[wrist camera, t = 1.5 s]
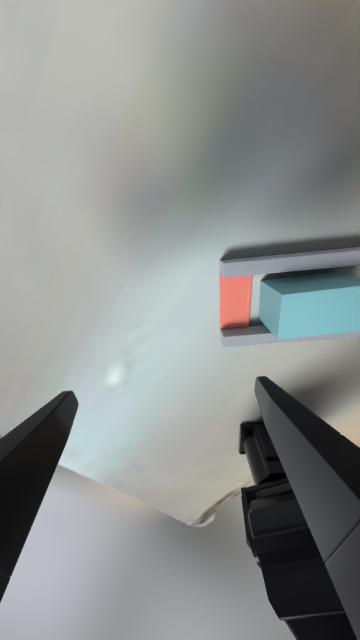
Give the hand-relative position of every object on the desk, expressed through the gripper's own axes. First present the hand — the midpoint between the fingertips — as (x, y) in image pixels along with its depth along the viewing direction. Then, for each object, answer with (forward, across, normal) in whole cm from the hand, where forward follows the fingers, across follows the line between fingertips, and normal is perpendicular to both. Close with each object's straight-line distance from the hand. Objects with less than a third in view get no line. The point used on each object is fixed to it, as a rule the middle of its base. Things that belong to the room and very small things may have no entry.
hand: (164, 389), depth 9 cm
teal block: (+11, -12, 0) cm, 17 cm away
